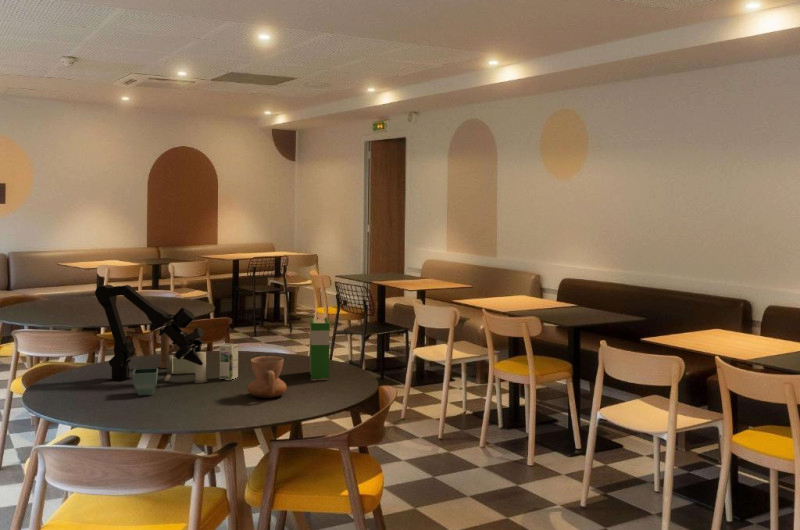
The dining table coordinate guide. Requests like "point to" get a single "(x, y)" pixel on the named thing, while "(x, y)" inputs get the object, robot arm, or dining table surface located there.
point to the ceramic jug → (267, 377)
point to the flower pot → (145, 380)
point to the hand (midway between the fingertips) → (204, 363)
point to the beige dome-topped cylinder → (200, 368)
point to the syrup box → (228, 361)
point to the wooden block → (166, 350)
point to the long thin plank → (169, 367)
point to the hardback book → (319, 348)
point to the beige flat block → (183, 366)
